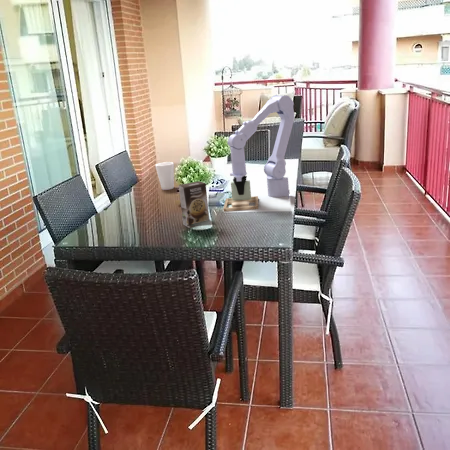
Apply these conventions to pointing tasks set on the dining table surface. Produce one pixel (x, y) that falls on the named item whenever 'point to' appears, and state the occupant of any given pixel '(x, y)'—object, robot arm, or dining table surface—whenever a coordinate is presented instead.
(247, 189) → the pale green slab
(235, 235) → the dining table surface
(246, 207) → the rack
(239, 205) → the offcut upper
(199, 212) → the brown cookie box
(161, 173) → the foam cup
